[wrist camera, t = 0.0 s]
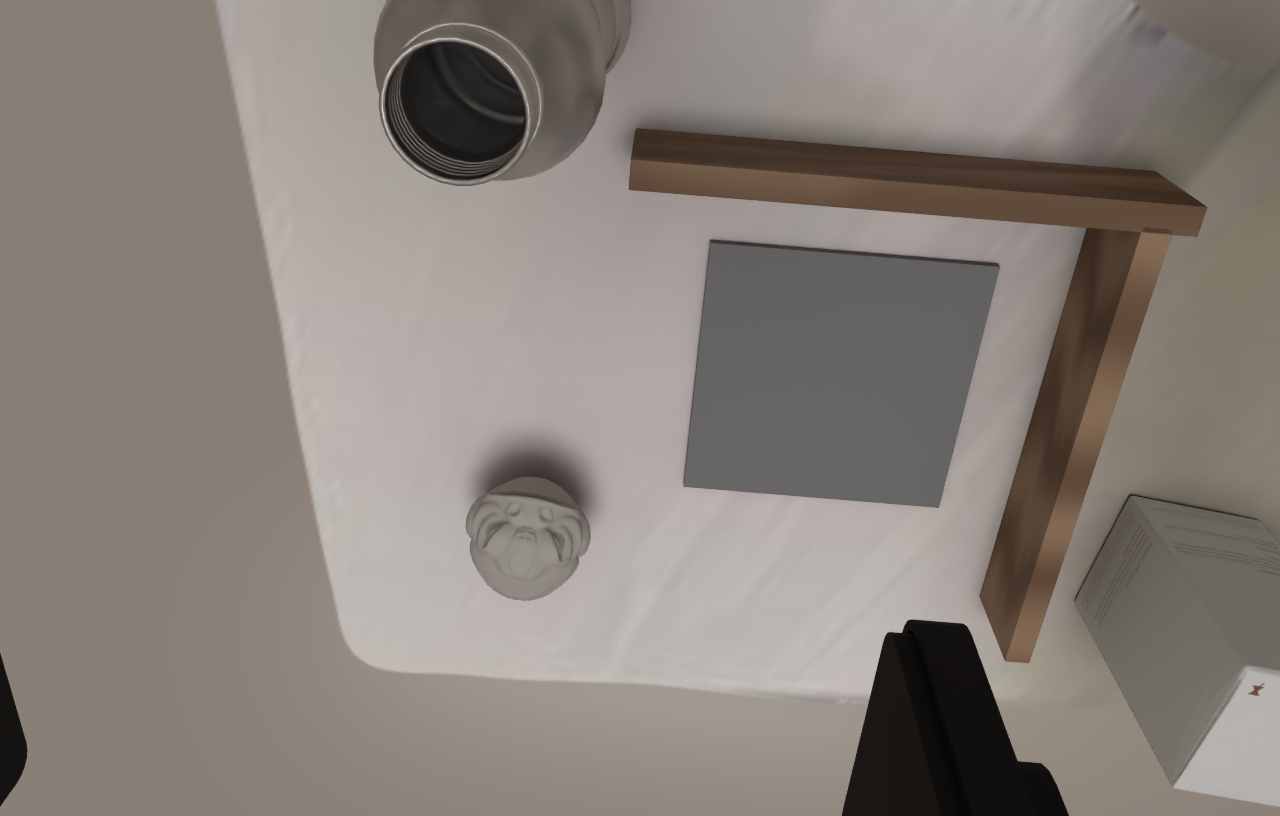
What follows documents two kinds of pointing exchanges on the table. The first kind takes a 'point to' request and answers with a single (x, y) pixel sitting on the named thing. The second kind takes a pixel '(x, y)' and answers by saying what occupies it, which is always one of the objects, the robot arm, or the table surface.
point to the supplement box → (1194, 642)
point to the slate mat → (833, 372)
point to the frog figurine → (526, 537)
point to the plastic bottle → (493, 82)
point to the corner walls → (1087, 333)
